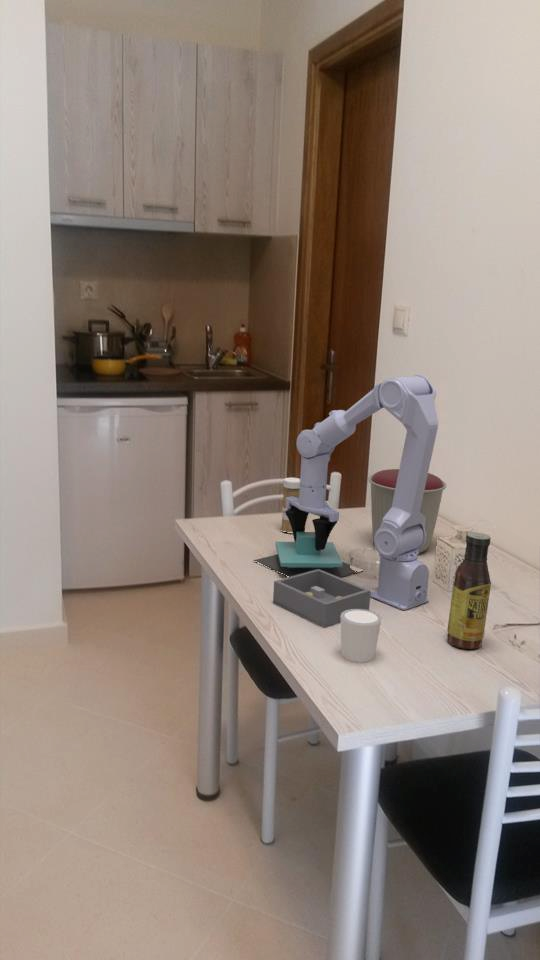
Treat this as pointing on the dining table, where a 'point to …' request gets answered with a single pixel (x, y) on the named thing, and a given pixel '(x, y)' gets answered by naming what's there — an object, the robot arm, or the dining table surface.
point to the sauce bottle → (470, 594)
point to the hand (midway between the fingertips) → (309, 545)
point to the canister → (384, 494)
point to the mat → (275, 565)
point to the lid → (307, 553)
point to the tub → (319, 596)
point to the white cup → (359, 634)
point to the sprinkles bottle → (289, 491)
